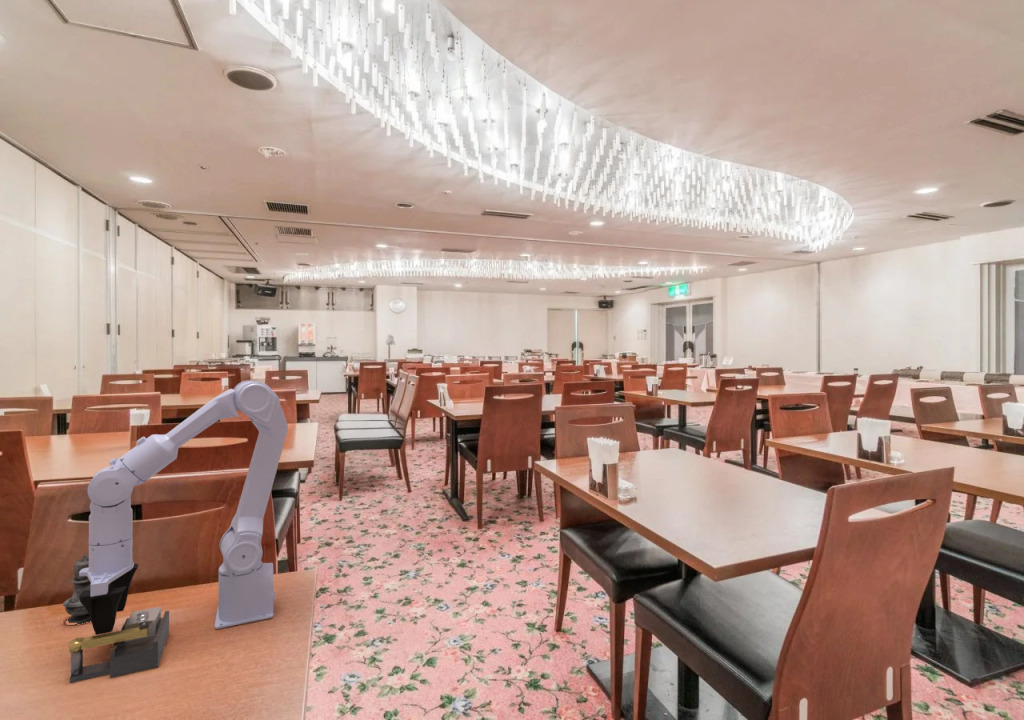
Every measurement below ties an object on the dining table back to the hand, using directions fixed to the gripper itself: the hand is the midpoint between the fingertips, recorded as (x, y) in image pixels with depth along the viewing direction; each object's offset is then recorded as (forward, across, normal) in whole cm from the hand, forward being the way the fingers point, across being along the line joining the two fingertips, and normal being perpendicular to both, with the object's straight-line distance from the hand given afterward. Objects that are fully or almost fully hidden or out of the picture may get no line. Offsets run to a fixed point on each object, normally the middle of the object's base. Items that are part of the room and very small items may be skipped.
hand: (110, 621), depth 84 cm
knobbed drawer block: (+1, +3, +5) cm, 6 cm away
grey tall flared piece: (+5, -14, -7) cm, 17 cm away
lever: (0, +7, +1) cm, 8 cm away
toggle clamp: (+4, +4, +2) cm, 7 cm away
